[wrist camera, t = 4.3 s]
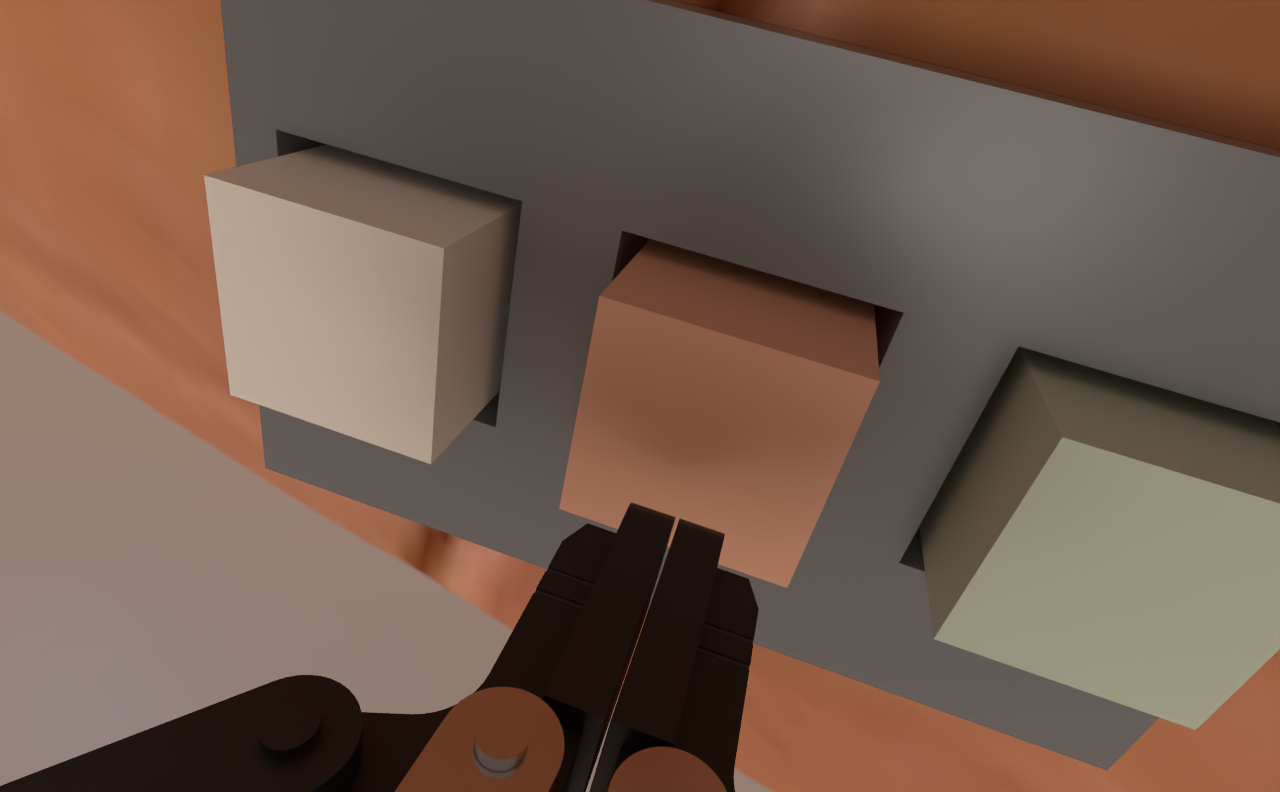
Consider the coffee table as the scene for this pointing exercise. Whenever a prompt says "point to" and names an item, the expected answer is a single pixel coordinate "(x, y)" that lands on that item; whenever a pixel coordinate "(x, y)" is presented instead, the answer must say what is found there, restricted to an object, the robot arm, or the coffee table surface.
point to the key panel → (782, 269)
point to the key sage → (1111, 539)
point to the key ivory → (363, 294)
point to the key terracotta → (720, 403)
